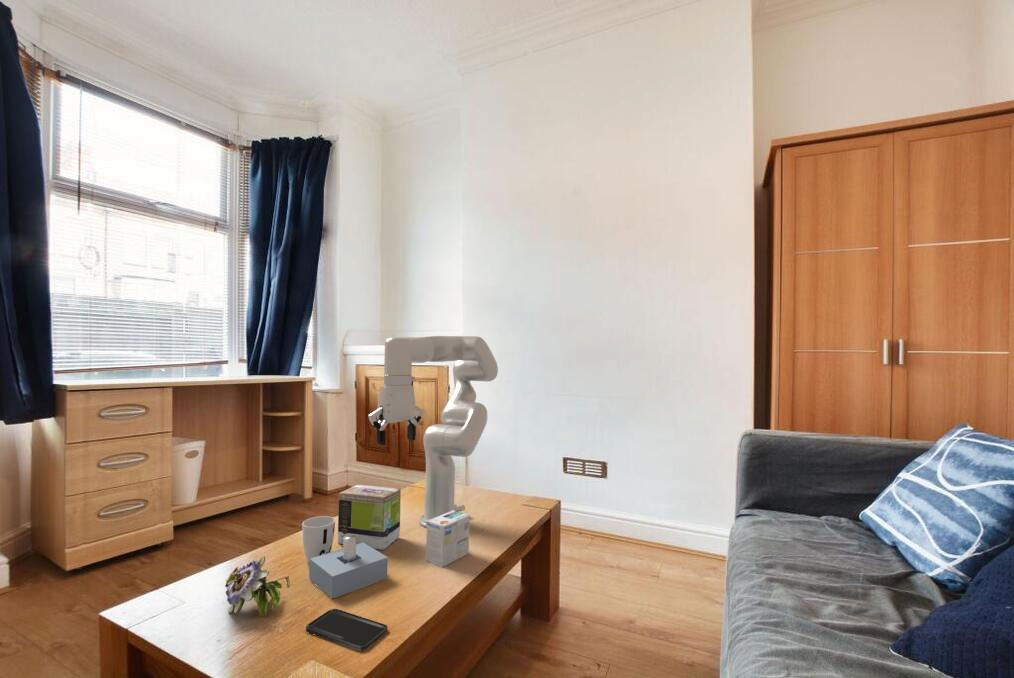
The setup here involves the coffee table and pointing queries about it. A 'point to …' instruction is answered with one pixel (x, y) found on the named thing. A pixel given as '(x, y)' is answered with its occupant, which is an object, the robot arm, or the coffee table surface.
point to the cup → (318, 536)
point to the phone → (347, 629)
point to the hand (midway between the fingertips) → (396, 442)
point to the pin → (349, 548)
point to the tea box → (370, 515)
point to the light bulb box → (447, 538)
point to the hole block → (347, 570)
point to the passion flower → (252, 587)
